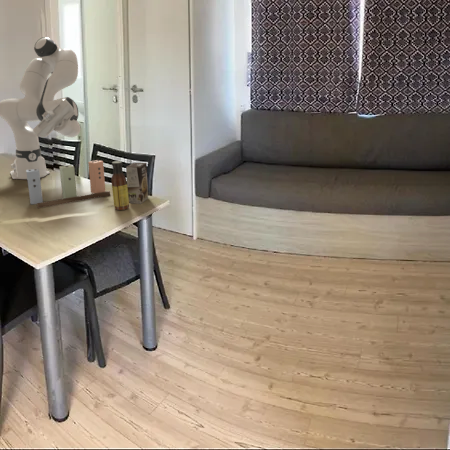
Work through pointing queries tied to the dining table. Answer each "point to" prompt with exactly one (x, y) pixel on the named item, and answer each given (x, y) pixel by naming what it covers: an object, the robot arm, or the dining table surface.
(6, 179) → the dining table surface
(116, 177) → the sauce bottle
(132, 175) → the coffee box
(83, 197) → the tile rack
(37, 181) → the tile two
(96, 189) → the tile three
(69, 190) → the tile one
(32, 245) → the dining table surface
